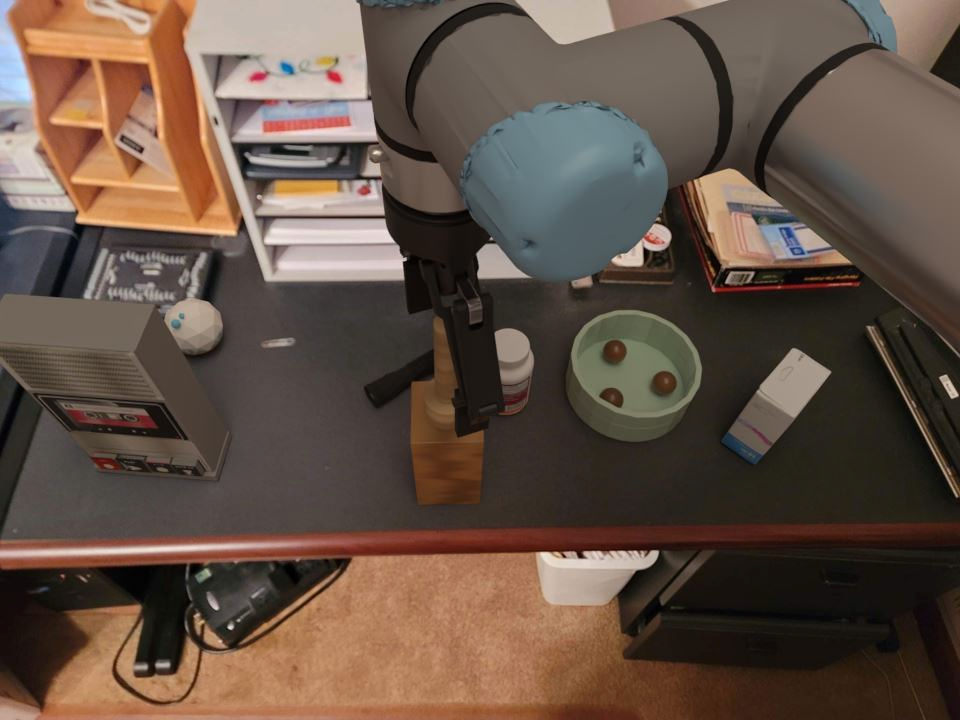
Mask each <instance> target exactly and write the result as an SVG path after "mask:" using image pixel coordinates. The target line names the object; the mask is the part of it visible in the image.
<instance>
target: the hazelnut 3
mask: <svg viewBox="0 0 960 720" xmlns="http://www.w3.org/2000/svg"><path fill="white" fill-rule="evenodd" d="M676 386H677V380H676V378H675V376H674V375H673V374H672V373H671V372H668V371H660V372H658V373H656V374H655V375H654V377H653V379H652V387H653V389H654V391H655V392H656V393H658V394H660V395H669V394H671V393H672V392H674V390H675V389H676Z"/></svg>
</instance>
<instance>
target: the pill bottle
mask: <svg viewBox="0 0 960 720" xmlns="http://www.w3.org/2000/svg"><path fill="white" fill-rule="evenodd" d="M494 332H495V339H496V347H497V354H498V361H499V369H500V376H501V383H502V390H503V398H504V402H505V412H502V413H499V414H498V415H499V416H511V415H514V414H517V413H519V412H520V411H522V410H523V409H524V408H525V406H526V405H527V404H528V402H529V399H530V395H531V394H530V393H531V388H532V387H531V386H532V380H533V374H534V369H535V357H534V353H533V351H532V349H531V344H530V340H529V338H528V337H527V336H526V335H525V334H524V333H523V332H522V331H520V330H518V329H515V328H510V327H509V328H501V329H498V330H497V331H494Z"/></svg>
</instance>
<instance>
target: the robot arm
mask: <svg viewBox="0 0 960 720" xmlns="http://www.w3.org/2000/svg"><path fill="white" fill-rule="evenodd" d="M355 2H356V3H357V4H359V11H360V20H361V26H362V36H363V42H364V43H363V45H364V51H365V58H366V67H367V68H366V69H367V75H368V83H369V90H370V91H369V92H370V98H371V107H372V114H373V124H374V127H375V135H376V139H377V141H378V144H377V145H373V146H370V147H369V148H368V150H367V154H368V160H369V161H370V162H371V163H373V164H379V170H380V171H379V172H380V178H381V196H382V204H383V213H384V221H385V227H386V230H387V232H388V234H389V236H390V237H391V239H392V240H393V242H394V243H395V244H396V245H397V246H398V250H399V251H398V252H399V254H400V255H401V256H402V258H403V259H405V258H406V259H405V260H402V270H403V281H404V291H405V301H406V302H405V303H406V310H407V312H408V314H409V316H410V315H415V314H418V313H421V312H425V311H430V310H432V311H433V313H434V314H435V315H436V316H438V317H440V318H441V319H443V323H444V328H445V332H446V336H447V341H448V345H449V349H450V354H451V358H452V362H453V367H454V371H455V376H456V380H457V384H458V388H457V389H454V394H455V397H454V398H451V402H452V405H453V407H454V408H455V432H456V435H457V437H458V438H459V437H463V436H466V435H469V434H472V433H475V432H479V431H482V430H489V427H490V424H489V423H490V417H492V416H496V415H499V413H502V412H505V402H504V398H503V390H502V383H501V376H500V369H499V361H498V354H497V347H496V339H495V332H496V331H495V326H494V302H495V300H494V297H493V296H492V294H491V293H490V291H488V290H487V291H484V292H482V291H481V285H480V281H479V276H478V272H479V270H480V264H479V259H478V255H477V254H478V253H479V251H480V250H482V248H483V247H484V246H485V245H486V244H487V243H488V242H489V241H490V240H491V239H492V240H493V241H494V242H495V243H496V245H497V246H498V247H499V249H500V250H501V251H502V253H503V254H504V255H505V256H506V257H507V259H508V260H509V261H510V262H511V263H512V264H513V266H514V267H515V268H516V269H517V270H519V271H520V272H521V273H522V274H524V275H525V276H527V277H530V278H532V279H534V280H537V281H540V282H545V283H556V284H559V283H561V284H562V283H569V282H570V283H571V282H573V281H578V280H581V279H585V278H588V277H591V276H593V275H595V274H597V273H599V272H601V271H604V270H605V269H606V268H607V267H608V265H609V264H610V262H611V261H612V260H613V259H614V258H616V257H617V256H619V255H624V254H628V253H629V252H630V251H631V250H632V249H634V248H635V247H636V246H637V245H638V244H639V243H640V242H641V241H642V240H643V238H644V237H645V236H646V235H647V234H648V233H649V232H650V230H651V229H652V228H653V226H654V224H655V223H656V221H657V219H658V218H659V215H660V214H661V212H662V209H663V207H664V204H665V202H666V200H667V196H668V190H670V189H673V188H676V187H679V186H682V185H685V184H687V183H690V182H693V181H696V180H698V179H701V178H704V177H705V176H706V177H707V176H709V175H712V174H717V173H719V172H722V171H725V170H729V169H730V170H734V171H735V172H738V173H739V174H740V175H742V176H743V177H744V178H745V179H746V180H748V181H749V182H750V183H751V184H752V185H754V187H756V188H757V189H758V190H760V191H761V192H762V193H764V194H765V195H766V196H767V197H769V198H770V199H772V200H774V201H775V202H776V203H777V204H779V205H780V206H781V207H783V209H785V210H786V211H788V212H789V213H790V214H791V215H792V216H793V217H795V218H796V219H797V220H798V221H800V222H801V223H802V224H803V225H804V226H806V227H807V228H808V229H809V230H811V231H812V232H813V233H814V234H816V235H817V236H818V237H819V238H820V239H822V240H823V241H824V242H825V243H827V244H828V245H829V246H830V247H831V248H832V249H833V250H835V251H836V252H838V253H839V254H840V255H842V256H843V257H844V258H845V259H846V260H847V261H848V262H850V263H851V264H852V265H854V266H855V267H856V268H857V269H858V270H859V271H861V272H862V273H863V274H865V275H866V276H867V277H868V278H869V279H870V280H872V281H873V282H874V283H876V284H877V285H878V286H879V287H880V288H882V289H883V290H884V291H885V292H887V293H888V294H889V295H890V296H891V297H893V298H894V300H896V301H897V302H899V303H900V304H901V305H902V306H904V308H906V309H907V310H908V311H910V313H912V314H914V315H915V316H916V317H917V318H918V319H920V320H921V321H922V322H923V323H924V324H925V325H926V326H928V327H929V328H930V329H932V330H933V331H934V332H935V333H936V334H938V335H939V336H940V337H941V338H943V340H945V341H947V343H949V344H950V345H951V346H952V347H953V348H955V349H956V350H957V351H958V352H960V88H959V87H957V86H955V85H953V84H952V83H950V82H948V81H946V80H944V79H942V78H941V77H939V76H937V75H936V74H933V73H932V72H930V71H928V70H926V69H924V68H923V67H921V66H919V65H917V64H916V63H914V62H912V61H910V60H908V59H907V58H905V57H903V56H901V55H899V54H898V38H897V30H896V26H895V24H894V21H893V18H892V17H891V16H890V15H888V14H887V12H886V10H885V7H884V5H882V2H881V1H880V0H724V1H720V2H716V3H713V4H710V5H706V6H703V7H699V8H695V9H691V10H688V11H685V12H680V13H677V14H674V15H670V16H667V17H664V18H660V19H656V20H652V21H648V22H644V23H640V24H636V25H633V26H630V27H625V28H622V29H617V30H614V31H611V32H607V33H603V34H599V35H598V34H597V35H595V36H591V37H588V38H584V39H580V40H577V41H574V42H570V43H565V44H564V43H558V42H557V41H556V40H554V39H553V37H551V36H550V35H549V34H548V32H546V31H545V30H544V28H543V27H541V26H540V25H539V23H537V21H535V20H534V19H533V16H531V15H530V14H529V13H528V12H527V10H525V9H524V7H522V5H520V3H518V2H517V0H355ZM453 295H457V297H458V298H457V299H454V300H452V302H447V303H444V304H443V301H442V297H450V296H453Z"/></svg>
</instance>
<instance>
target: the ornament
mask: <svg viewBox="0 0 960 720" xmlns="http://www.w3.org/2000/svg"><path fill="white" fill-rule="evenodd" d="M164 315H165V316H164V318H163V319H164V321H165V323H166V325H167V326H168V328H169V330H170V332H171V333H172V335H173V337H174V339H175V340H176V342H177V344H178V346H179V347H180V349H181V351H182V353H183V354H184V355H191V356H198V355H203V354H206V353H208V352H210V351H212V350H214V348H216V347H217V345H218V344H219V343H220V342H221V340H222V337H223V335H224V325H223V320H222V316H221V313H220V311H219V310H218V309H216V307H215V306H213V304H211V303H210V301H206V300H203V299H198V298H195V297H192V298H189V299H185V300H181V301H178V302H177V303H176V304H175V305H173V306H171V307H170V308H169V309H168V310H167V311H165V314H164Z"/></svg>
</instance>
